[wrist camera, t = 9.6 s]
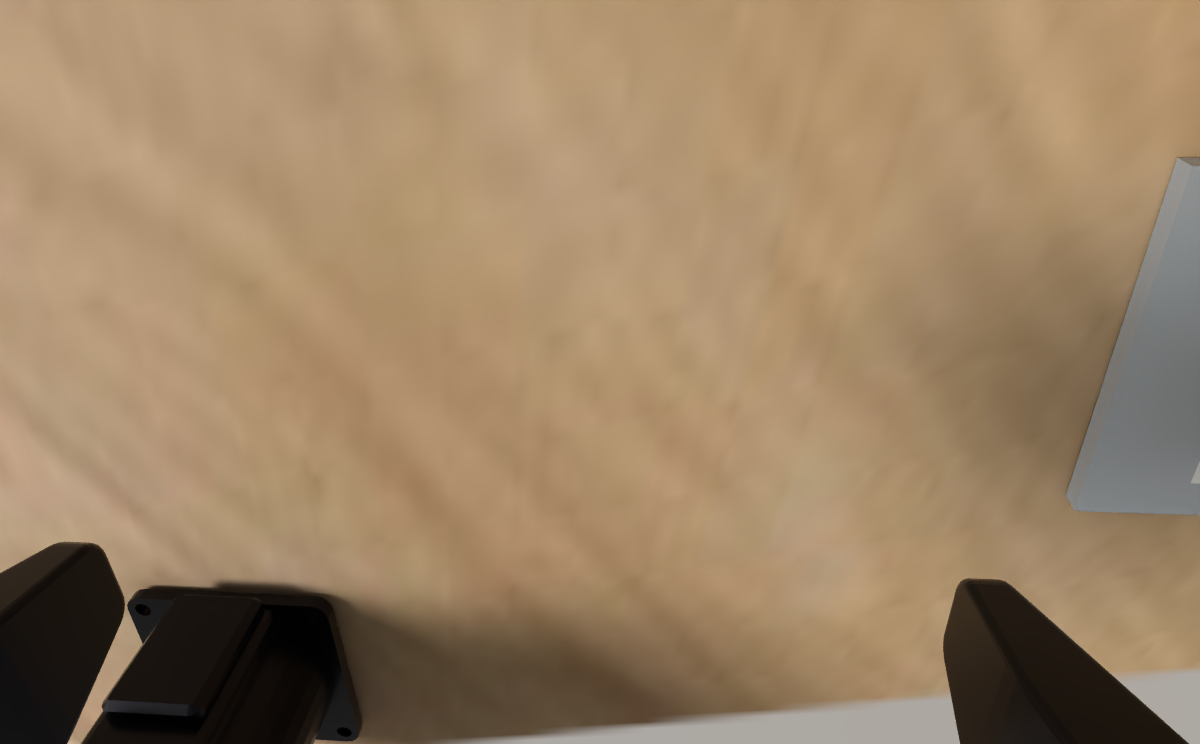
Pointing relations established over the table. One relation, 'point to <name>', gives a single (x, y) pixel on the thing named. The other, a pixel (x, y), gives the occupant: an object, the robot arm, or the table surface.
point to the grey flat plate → (1152, 377)
